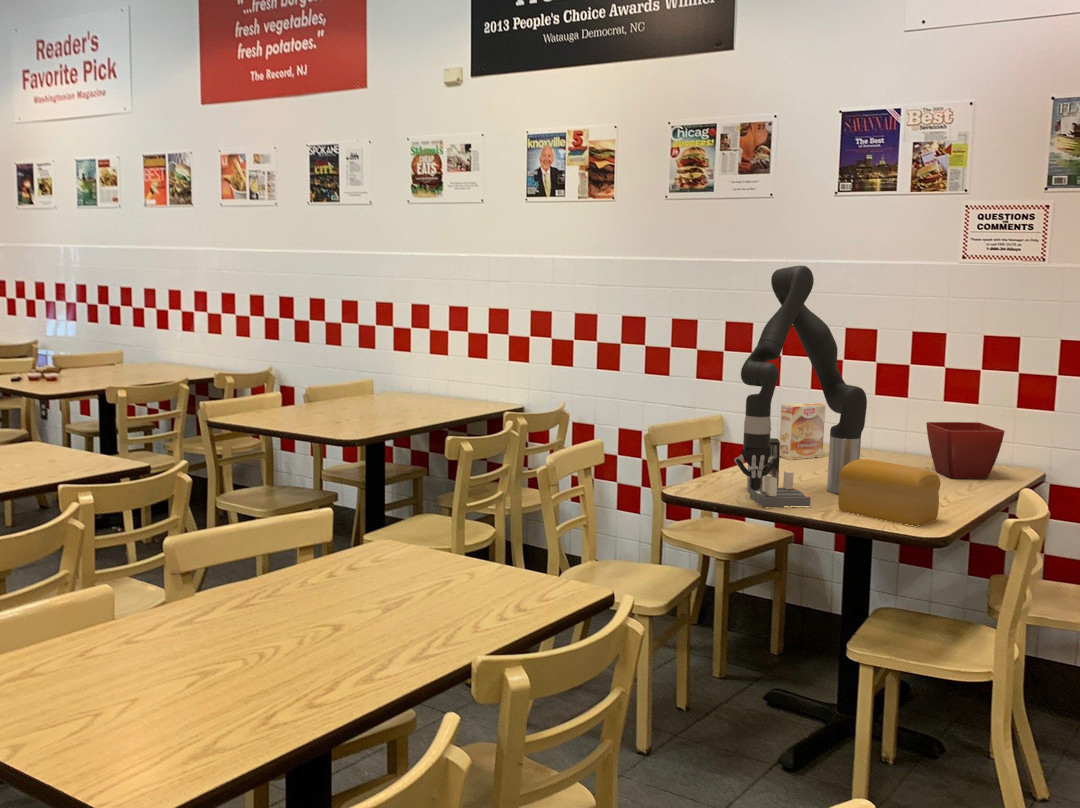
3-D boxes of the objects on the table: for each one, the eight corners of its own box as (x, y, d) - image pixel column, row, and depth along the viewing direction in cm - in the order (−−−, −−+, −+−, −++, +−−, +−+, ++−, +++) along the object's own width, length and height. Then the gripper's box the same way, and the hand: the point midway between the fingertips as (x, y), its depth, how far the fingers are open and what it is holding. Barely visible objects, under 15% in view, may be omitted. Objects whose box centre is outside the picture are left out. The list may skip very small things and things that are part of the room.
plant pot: (921, 469, 366) (925, 421, 364) (976, 469, 367) (979, 421, 364) (944, 481, 347) (948, 430, 345) (1002, 481, 348) (1006, 431, 346)
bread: (938, 520, 295) (942, 467, 293) (916, 527, 286) (919, 473, 284) (860, 504, 313) (863, 454, 310) (836, 510, 304) (839, 459, 302)
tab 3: (789, 487, 318) (790, 470, 317) (792, 489, 315) (793, 472, 315) (783, 487, 318) (784, 470, 317) (786, 489, 315) (787, 472, 314)
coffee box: (775, 488, 331) (778, 438, 328) (778, 493, 324) (780, 441, 322) (746, 487, 331) (748, 437, 329) (748, 492, 325) (750, 440, 323)
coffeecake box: (790, 460, 378) (792, 406, 375) (777, 456, 384) (780, 403, 382) (823, 457, 384) (826, 404, 381) (810, 454, 390) (813, 401, 388)
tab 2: (773, 494, 308) (774, 477, 307) (776, 496, 306) (777, 479, 305) (766, 494, 308) (767, 477, 307) (769, 496, 305) (770, 479, 305)
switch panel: (794, 497, 319) (795, 487, 319) (810, 507, 306) (810, 497, 306) (749, 497, 318) (749, 487, 317) (763, 508, 305) (763, 497, 304)
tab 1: (768, 490, 313) (769, 474, 312) (771, 492, 310) (772, 476, 309) (761, 490, 312) (762, 474, 312) (764, 492, 310) (765, 476, 309)
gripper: (775, 428, 308) (772, 486, 311) (731, 428, 307) (728, 487, 309) (783, 433, 301) (781, 492, 303) (738, 433, 299) (736, 493, 302)
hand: (754, 489), depth 306 cm, fingers closed
